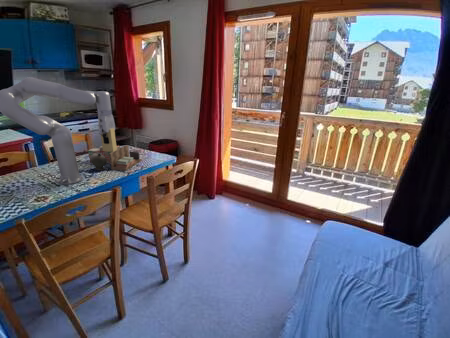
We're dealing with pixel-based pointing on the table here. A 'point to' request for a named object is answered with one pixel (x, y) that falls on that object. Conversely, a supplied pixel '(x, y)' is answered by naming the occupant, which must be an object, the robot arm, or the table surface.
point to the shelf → (120, 155)
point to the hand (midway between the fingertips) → (108, 142)
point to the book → (110, 141)
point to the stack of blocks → (100, 150)
